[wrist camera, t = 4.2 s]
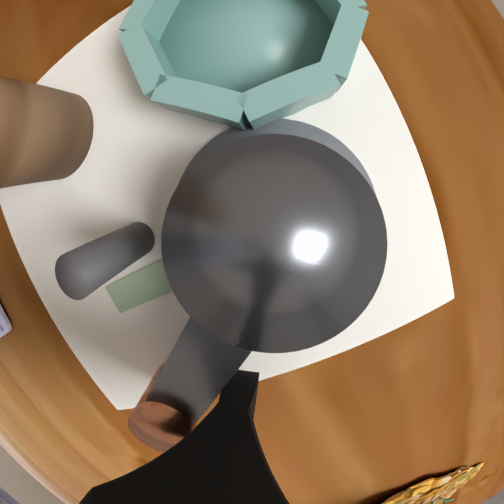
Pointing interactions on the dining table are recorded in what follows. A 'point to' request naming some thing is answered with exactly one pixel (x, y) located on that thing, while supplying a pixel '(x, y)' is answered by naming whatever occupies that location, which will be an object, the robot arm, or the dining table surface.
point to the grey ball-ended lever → (259, 267)
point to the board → (158, 197)
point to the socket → (241, 55)
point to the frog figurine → (435, 488)
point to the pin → (41, 132)
